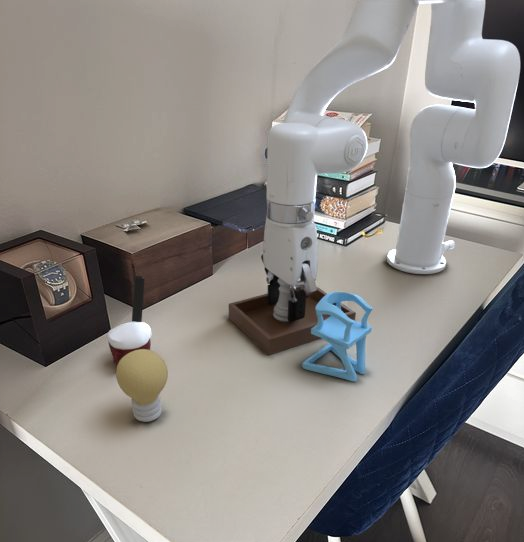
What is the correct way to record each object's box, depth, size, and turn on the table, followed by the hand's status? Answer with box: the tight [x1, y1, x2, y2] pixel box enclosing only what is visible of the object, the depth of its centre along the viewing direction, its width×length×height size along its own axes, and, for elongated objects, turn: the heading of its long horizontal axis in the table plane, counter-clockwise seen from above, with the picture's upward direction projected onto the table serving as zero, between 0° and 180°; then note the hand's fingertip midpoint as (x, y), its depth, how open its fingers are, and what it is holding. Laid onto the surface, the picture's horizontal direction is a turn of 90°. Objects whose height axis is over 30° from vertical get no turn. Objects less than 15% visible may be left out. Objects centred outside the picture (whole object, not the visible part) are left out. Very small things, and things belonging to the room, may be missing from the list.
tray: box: [228, 285, 357, 356], centre depth 89 cm, size 18×14×3 cm
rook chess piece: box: [273, 278, 291, 322], centre depth 88 cm, size 4×4×8 cm
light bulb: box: [115, 349, 169, 423], centre depth 66 cm, size 6×6×10 cm
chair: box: [302, 291, 374, 383], centre depth 75 cm, size 8×8×12 cm
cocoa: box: [106, 275, 153, 366], centre depth 77 cm, size 10×6×12 cm, turn 140°
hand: (285, 310), depth 89 cm, fingers open, 5 cm apart
